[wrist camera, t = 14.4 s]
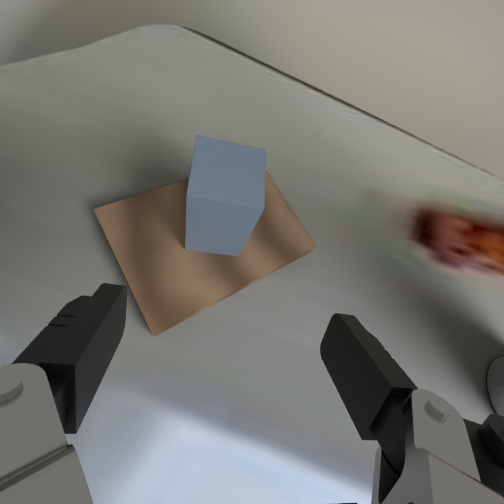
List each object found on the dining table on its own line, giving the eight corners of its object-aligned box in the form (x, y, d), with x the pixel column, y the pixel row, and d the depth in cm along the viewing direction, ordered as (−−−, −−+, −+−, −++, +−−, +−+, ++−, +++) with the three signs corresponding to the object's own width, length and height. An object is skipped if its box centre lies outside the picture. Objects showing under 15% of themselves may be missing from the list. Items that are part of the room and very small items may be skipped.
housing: (192, 203, 29) (196, 135, 20) (241, 211, 30) (265, 150, 21) (185, 249, 27) (186, 196, 18) (238, 256, 28) (264, 208, 19)
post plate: (253, 166, 36) (265, 133, 30) (309, 252, 33) (333, 231, 28) (99, 218, 28) (79, 185, 23) (154, 336, 25) (146, 330, 20)
